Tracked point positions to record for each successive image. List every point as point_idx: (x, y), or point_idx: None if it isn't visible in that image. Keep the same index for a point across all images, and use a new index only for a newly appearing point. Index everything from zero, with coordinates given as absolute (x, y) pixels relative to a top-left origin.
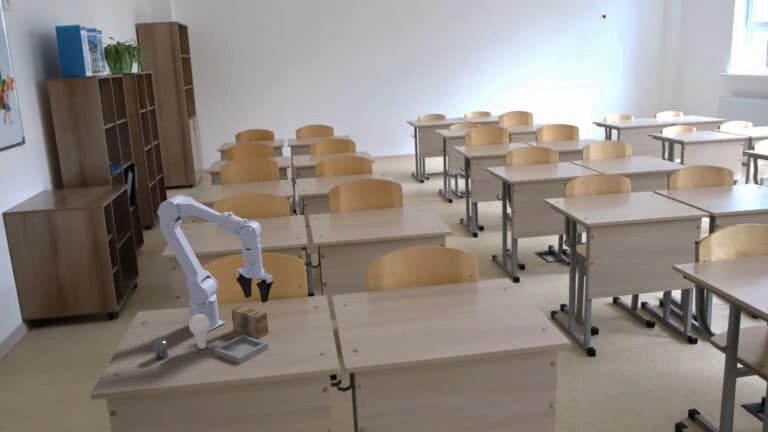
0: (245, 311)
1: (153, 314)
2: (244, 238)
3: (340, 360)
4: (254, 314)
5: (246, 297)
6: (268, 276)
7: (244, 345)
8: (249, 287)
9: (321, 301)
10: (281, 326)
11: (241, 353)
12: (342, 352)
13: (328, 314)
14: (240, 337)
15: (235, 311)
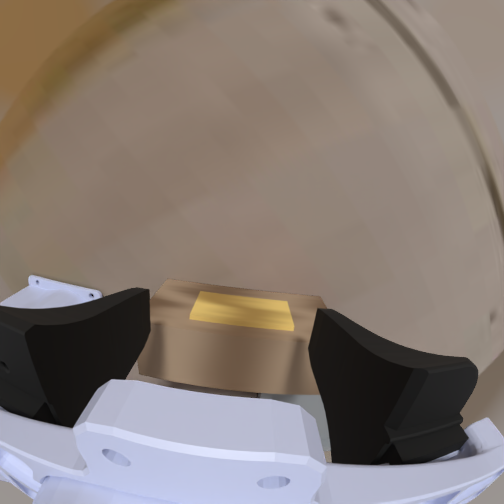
0: (221, 371)
1: None
2: None
3: None
4: (294, 380)
5: (148, 334)
6: (479, 489)
7: (301, 399)
8: (114, 329)
9: None
10: (331, 220)
11: (322, 425)
12: None
13: (420, 68)
14: (271, 396)
15: (169, 378)
